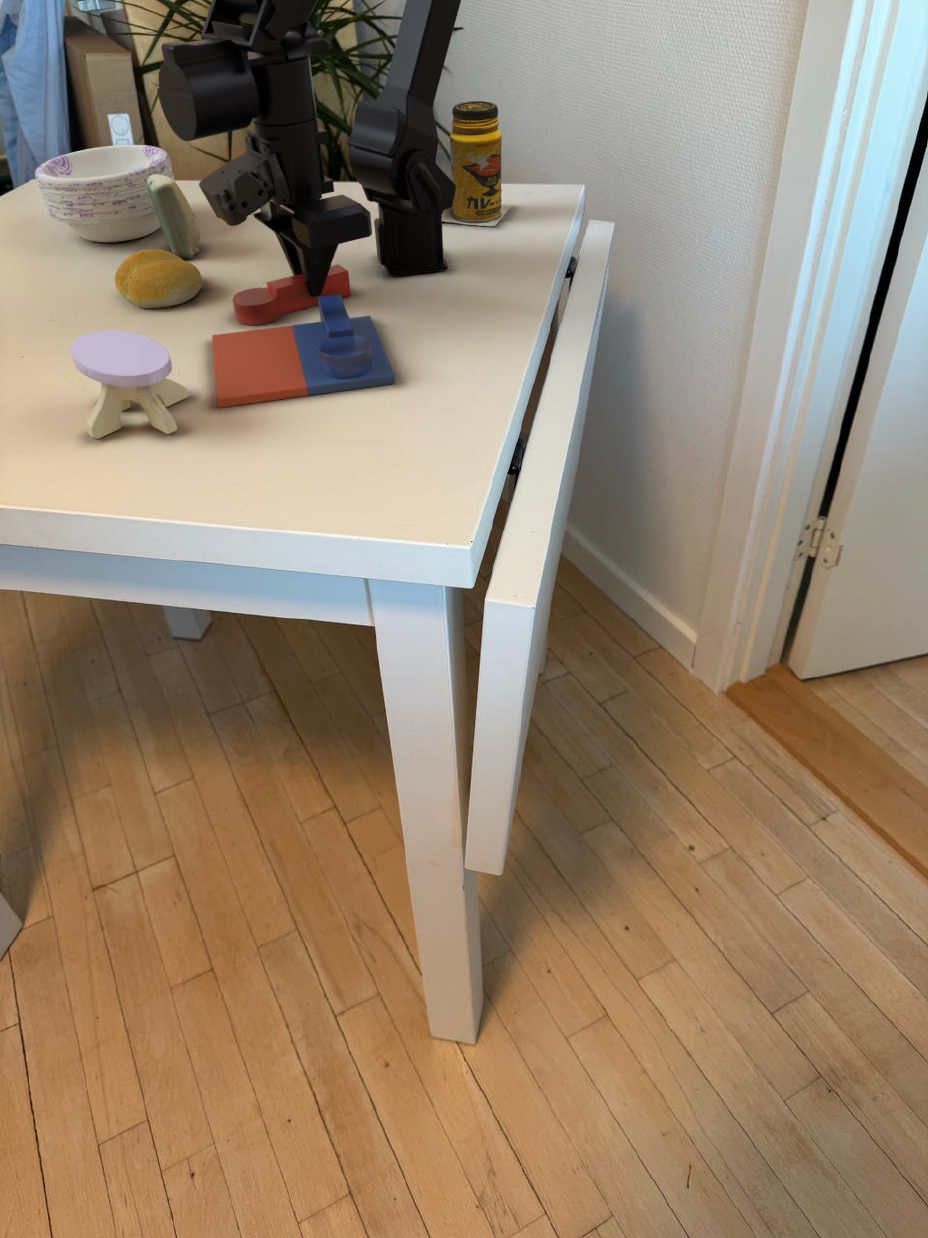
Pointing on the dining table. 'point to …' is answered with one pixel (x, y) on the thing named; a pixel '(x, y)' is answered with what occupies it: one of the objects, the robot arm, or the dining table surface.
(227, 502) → the dining table surface
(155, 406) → the toy table
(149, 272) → the bread roll
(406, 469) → the dining table surface
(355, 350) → the blue spoon
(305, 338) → the sorting board
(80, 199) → the paper bowls
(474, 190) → the condiment
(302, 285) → the red spoon
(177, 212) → the green soap bar
